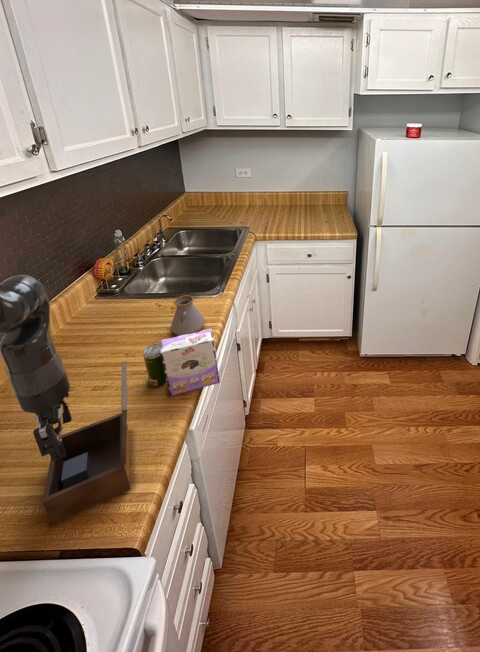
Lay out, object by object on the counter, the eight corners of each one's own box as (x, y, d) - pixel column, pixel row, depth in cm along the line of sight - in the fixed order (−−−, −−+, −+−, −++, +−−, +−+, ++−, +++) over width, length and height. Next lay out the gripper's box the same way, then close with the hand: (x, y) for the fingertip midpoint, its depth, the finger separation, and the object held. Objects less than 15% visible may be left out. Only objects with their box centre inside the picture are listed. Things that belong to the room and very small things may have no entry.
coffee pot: (172, 323, 124) (166, 289, 118) (205, 317, 127) (200, 284, 122) (168, 364, 105) (161, 325, 100) (206, 355, 109) (201, 318, 103)
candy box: (218, 370, 103) (212, 327, 97) (220, 385, 98) (214, 340, 91) (170, 383, 98) (161, 338, 92) (169, 398, 93) (159, 352, 87)
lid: (122, 410, 64) (127, 409, 64) (122, 361, 76) (126, 360, 76) (121, 466, 68) (126, 464, 68) (121, 411, 80) (125, 410, 80)
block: (66, 494, 70) (60, 480, 68) (68, 475, 73) (63, 461, 72) (91, 483, 72) (86, 469, 70) (92, 465, 75) (87, 452, 74)
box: (53, 527, 65) (41, 502, 62) (64, 460, 77) (54, 437, 74) (131, 490, 71) (124, 466, 68) (130, 434, 83) (123, 412, 80)
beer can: (165, 388, 96) (158, 356, 92) (146, 388, 96) (138, 356, 92) (172, 374, 101) (166, 343, 97) (155, 374, 101) (148, 342, 97)
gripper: (23, 360, 66) (46, 419, 72) (2, 416, 54) (32, 481, 60) (69, 348, 69) (87, 405, 75) (58, 398, 57) (81, 461, 63)
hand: (63, 438), depth 68 cm, fingers open, 8 cm apart
